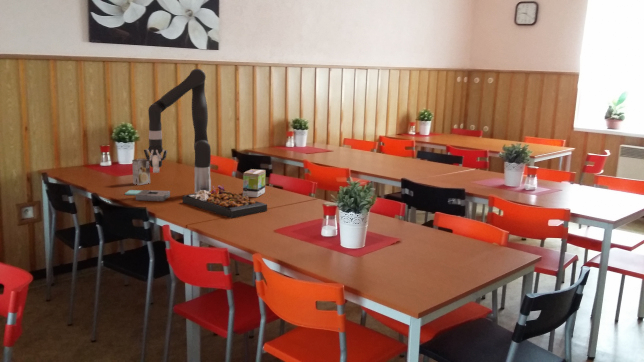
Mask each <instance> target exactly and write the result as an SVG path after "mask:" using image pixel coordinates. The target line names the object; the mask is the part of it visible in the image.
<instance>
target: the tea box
mask: <svg viewBox="0 0 644 362" xmlns="http://www.w3.org/2000/svg"><path fill="white" fill-rule="evenodd" d="M266 174H267V173H266V169H256V168H255V169H254V168H253V169H252V168H250V169H249V170H246V171H245V172H243V176H242V177H243V178H242V196H247V197H248V198H249V197H250V198H251V197H252V198H258V197H259V196H262V195H263V194H265V193H266Z"/></svg>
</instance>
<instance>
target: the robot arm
mask: <svg viewBox="0 0 644 362" xmlns="http://www.w3.org/2000/svg"><path fill="white" fill-rule="evenodd" d="M205 83H206V73H205V71H204V70H202V69H200V68H195V69H193V70H191V71H190V73H189V75H188V76H187V77H186V78H185V79H184V80H183V81H181V82H180V83H179V84H178V85H176V86H175V87H173V88H171V89H170V90H169V91H167V92H166V93H165V94H163V95H162V96H161V97H160V98H159V99H158V100H156V101H155V102H153V103H152V104H151V105H149V107H148V121H149V122H148V148H145V149H144V150H143V153H144V155H145V159H148V160H150V168H153V166H152V156H153V155H157V156H158V158H159V168H161V167H162V166H163V161H165V159H166V157H167V154H168V149H164V148H163V132H162V121H161V120H162V116H161V115H162V112H164V111H166V109H168V108H169V107H171V106H172V105H173V104H175V103H176V102H177V101H179V100H180V99H181V98H182V97H183V96H185V94H187V93H188V92H189V91H191V93H192V94H191V116H192V117H191V119H192V125H193V130H194V131H193V132H194V142H193V149H194V194H195V193H196V192H198V191H200V190H205V191H211V190H212V178H211V162H212V161H211V157H212V156H211V155H212V153H211V150H212V149H211V145H210V144H209V140H208V121H209V116H208V115H209V114H208V112H209V111H208V104H207V99H206V94H205V93H206V91H205ZM149 153H150V155H149ZM162 153H163V154H162Z"/></svg>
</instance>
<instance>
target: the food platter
mask: <svg viewBox="0 0 644 362" xmlns="http://www.w3.org/2000/svg"><path fill="white" fill-rule="evenodd" d="M182 203H183V204H186V205H189V206H193V207H195V208H198V209H202V210H205V211H207V212H210V213H214V214H216V215H220V216H222V217H225V218H229V219H235V218H238V217H244V216H250V215H254V214H259V212H260V213H264V212H267V211H268V205H267V203H263V202H261V201H257V200H254V199H249V197H247V196H243V195H240V194H239V193H238V192H233V193H232V192H231V191H228V190H225V186H224V185H222V186H221V185H217V187H215V186H212V189H211V191H205V190H200V191H198V192H196V193H195V192H194V193H190V194H187V195H186V194H185V195H182Z"/></svg>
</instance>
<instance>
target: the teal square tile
mask: <svg viewBox="0 0 644 362" xmlns="http://www.w3.org/2000/svg"><path fill="white" fill-rule="evenodd" d="M141 191H143V190H140V189H137V190H136V189H129V190H128V191H126V192H124V195H125V196H136V195H137V194H138V193H140V192H141Z"/></svg>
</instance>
